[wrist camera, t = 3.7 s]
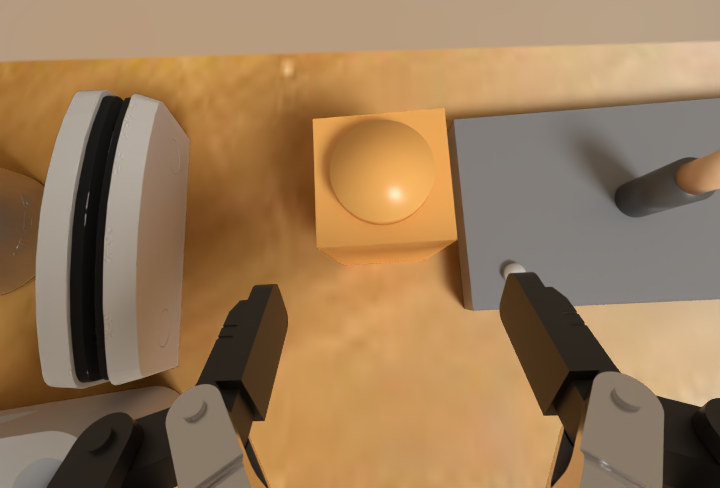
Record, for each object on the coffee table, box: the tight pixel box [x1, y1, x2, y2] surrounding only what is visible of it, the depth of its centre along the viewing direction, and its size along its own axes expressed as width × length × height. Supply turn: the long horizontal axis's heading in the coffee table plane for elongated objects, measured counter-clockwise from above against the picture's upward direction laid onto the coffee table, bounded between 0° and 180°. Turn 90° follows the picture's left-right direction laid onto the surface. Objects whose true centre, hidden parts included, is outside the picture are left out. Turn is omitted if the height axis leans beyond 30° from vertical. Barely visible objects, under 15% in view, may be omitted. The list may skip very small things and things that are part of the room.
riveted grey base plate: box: [447, 98, 720, 311], centre depth 17 cm, size 20×12×7 cm, turn 93°
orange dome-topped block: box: [313, 108, 458, 265], centre depth 16 cm, size 6×6×10 cm
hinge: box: [35, 90, 190, 389], centre depth 18 cm, size 17×5×10 cm, turn 2°
